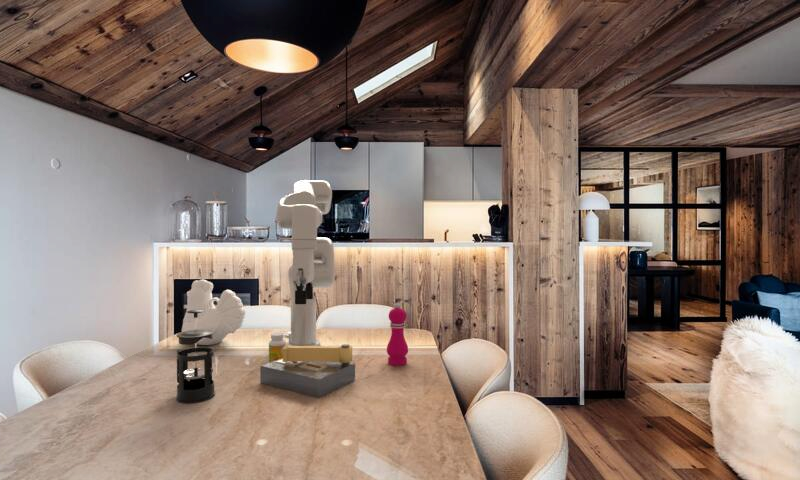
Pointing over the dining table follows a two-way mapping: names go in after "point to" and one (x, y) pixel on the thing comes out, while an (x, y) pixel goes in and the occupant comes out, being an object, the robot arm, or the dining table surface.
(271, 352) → the supplement bottle
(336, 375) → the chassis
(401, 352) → the pepper mill
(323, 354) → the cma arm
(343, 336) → the dining table surface
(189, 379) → the french press
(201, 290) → the decorative rooster
